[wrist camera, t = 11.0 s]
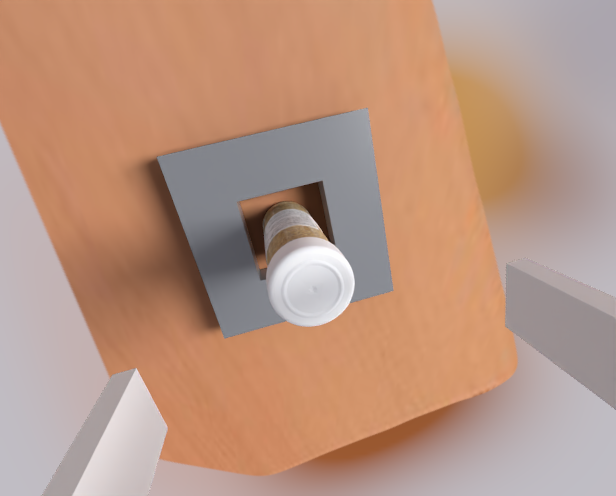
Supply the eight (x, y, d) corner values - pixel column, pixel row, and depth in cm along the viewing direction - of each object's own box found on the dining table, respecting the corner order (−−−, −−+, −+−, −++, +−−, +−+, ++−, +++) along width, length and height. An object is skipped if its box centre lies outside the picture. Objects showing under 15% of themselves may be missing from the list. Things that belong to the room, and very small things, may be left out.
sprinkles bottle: (309, 249, 30) (351, 329, 17) (260, 248, 29) (265, 331, 16) (313, 200, 28) (362, 248, 16) (262, 198, 27) (269, 246, 15)
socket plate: (165, 155, 25) (156, 156, 23) (357, 110, 26) (367, 107, 24) (226, 323, 31) (224, 338, 28) (383, 279, 32) (393, 290, 29)
